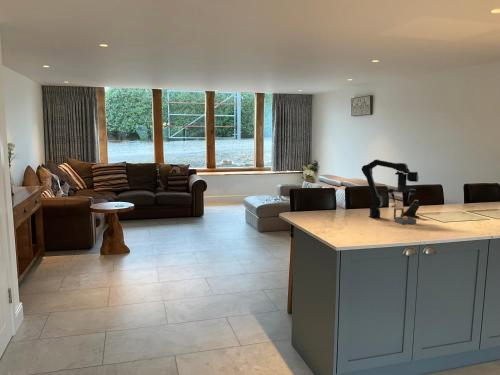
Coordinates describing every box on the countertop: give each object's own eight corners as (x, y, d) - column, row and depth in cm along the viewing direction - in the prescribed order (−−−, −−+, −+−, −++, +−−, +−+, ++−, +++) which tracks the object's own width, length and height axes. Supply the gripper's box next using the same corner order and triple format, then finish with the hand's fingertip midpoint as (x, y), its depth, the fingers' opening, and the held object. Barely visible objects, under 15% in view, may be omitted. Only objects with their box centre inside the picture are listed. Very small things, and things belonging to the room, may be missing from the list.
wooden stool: (403, 220, 293) (403, 208, 292) (393, 219, 295) (394, 208, 294) (403, 218, 299) (403, 207, 298) (393, 218, 301) (394, 207, 300)
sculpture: (418, 218, 299) (419, 200, 298) (400, 216, 307) (401, 198, 306) (420, 217, 303) (421, 199, 302) (402, 215, 312) (403, 198, 310)
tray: (402, 224, 278) (402, 219, 278) (394, 221, 288) (394, 217, 288) (416, 223, 280) (416, 219, 279) (408, 221, 290) (408, 216, 289)
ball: (403, 222, 282) (404, 216, 281) (401, 221, 286) (401, 215, 285) (409, 222, 282) (409, 216, 282) (406, 221, 286) (406, 215, 286)
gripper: (387, 181, 286) (387, 204, 288) (417, 182, 280) (416, 205, 282) (388, 180, 297) (387, 202, 299) (416, 181, 291) (415, 203, 293)
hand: (401, 203), depth 293 cm, fingers open, 9 cm apart
